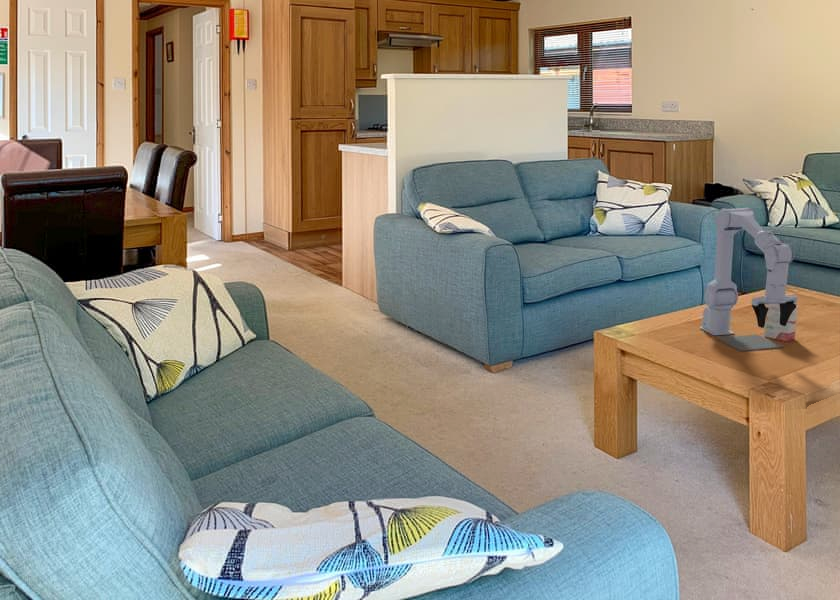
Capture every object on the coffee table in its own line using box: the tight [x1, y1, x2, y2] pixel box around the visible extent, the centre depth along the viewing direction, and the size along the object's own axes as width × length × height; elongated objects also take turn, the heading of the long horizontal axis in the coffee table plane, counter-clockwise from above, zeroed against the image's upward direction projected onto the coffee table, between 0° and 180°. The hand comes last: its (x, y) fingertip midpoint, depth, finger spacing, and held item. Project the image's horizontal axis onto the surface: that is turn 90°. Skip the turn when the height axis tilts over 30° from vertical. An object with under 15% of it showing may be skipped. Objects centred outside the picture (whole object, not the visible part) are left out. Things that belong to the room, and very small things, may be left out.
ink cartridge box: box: [763, 303, 799, 342], centre depth 259 cm, size 9×5×15 cm, turn 37°
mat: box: [716, 334, 785, 352], centre depth 255 cm, size 14×16×1 cm
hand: (771, 326), depth 239 cm, fingers open, 7 cm apart
